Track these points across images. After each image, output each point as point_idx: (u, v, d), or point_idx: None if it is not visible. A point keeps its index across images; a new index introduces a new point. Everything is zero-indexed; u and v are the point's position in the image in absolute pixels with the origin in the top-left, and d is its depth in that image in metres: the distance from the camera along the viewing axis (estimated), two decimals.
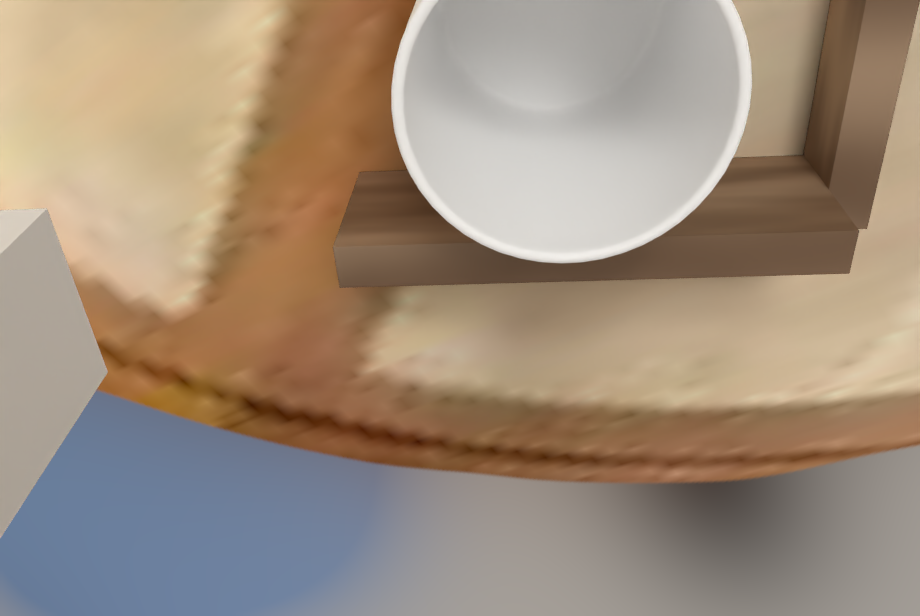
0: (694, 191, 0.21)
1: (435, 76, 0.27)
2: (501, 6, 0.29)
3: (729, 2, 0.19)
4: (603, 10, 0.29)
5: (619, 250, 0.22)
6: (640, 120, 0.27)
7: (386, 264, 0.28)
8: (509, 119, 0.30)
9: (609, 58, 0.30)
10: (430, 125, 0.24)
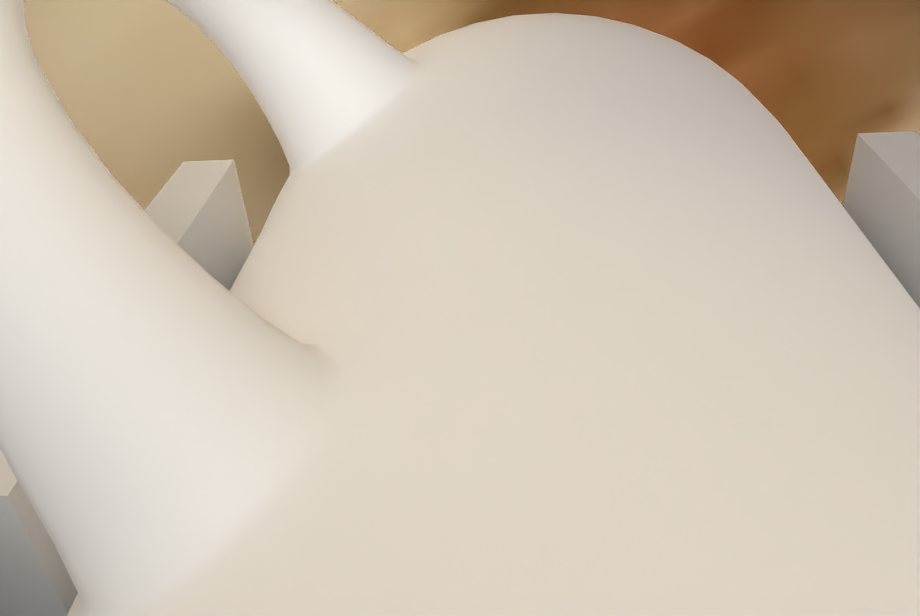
0: None
1: None
2: None
3: None
4: None
5: None
6: None
7: None
8: None
9: None
10: None
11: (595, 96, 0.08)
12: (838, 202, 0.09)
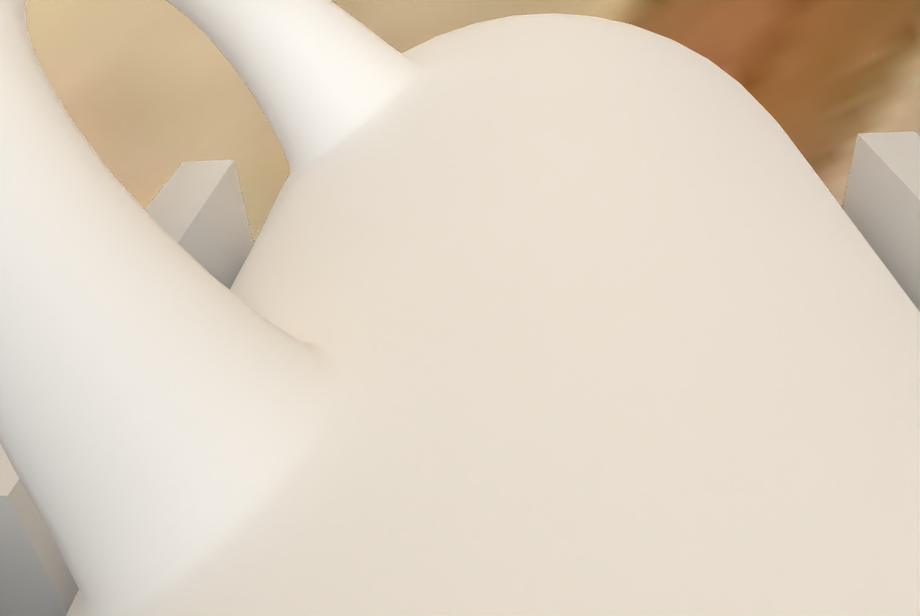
0: None
1: None
2: None
3: None
4: None
5: None
6: None
7: None
8: None
9: None
10: None
11: (593, 96, 0.08)
12: (835, 201, 0.09)
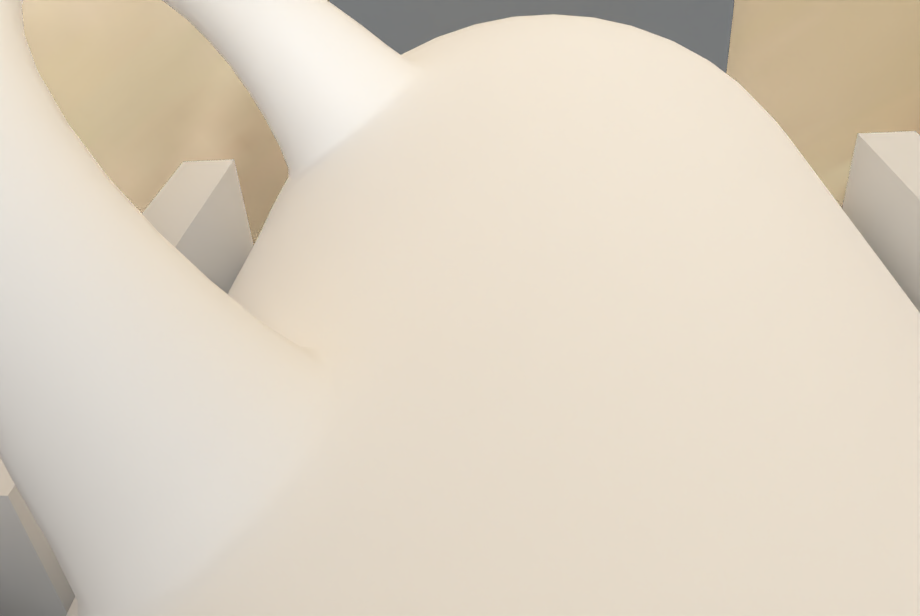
0: None
1: None
2: None
3: None
4: None
5: None
6: None
7: None
8: None
9: None
10: None
11: (594, 98, 0.08)
12: (837, 204, 0.09)
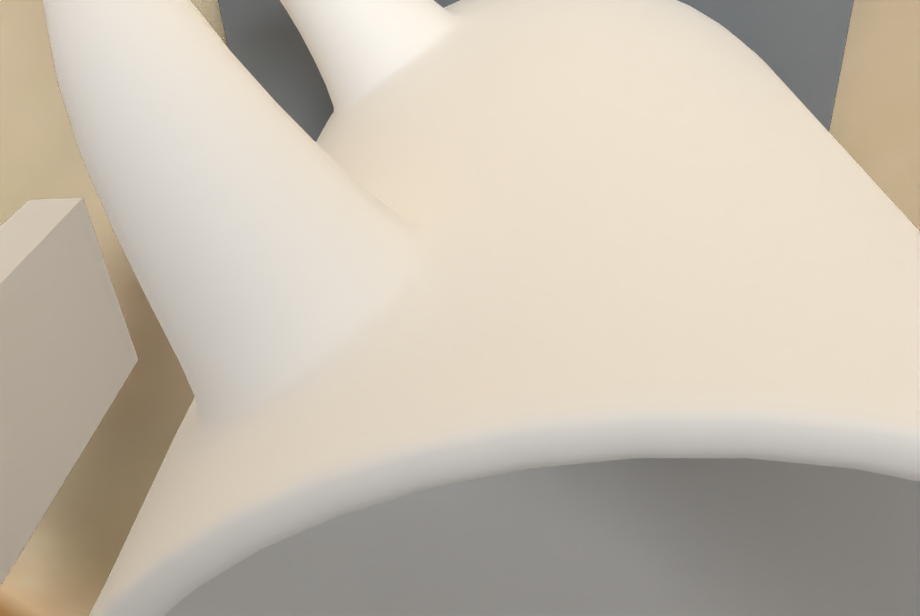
0: None
1: None
2: None
3: None
4: None
5: None
6: (728, 496, 0.13)
7: None
8: None
9: None
10: (262, 610, 0.10)
11: (624, 37, 0.09)
12: None
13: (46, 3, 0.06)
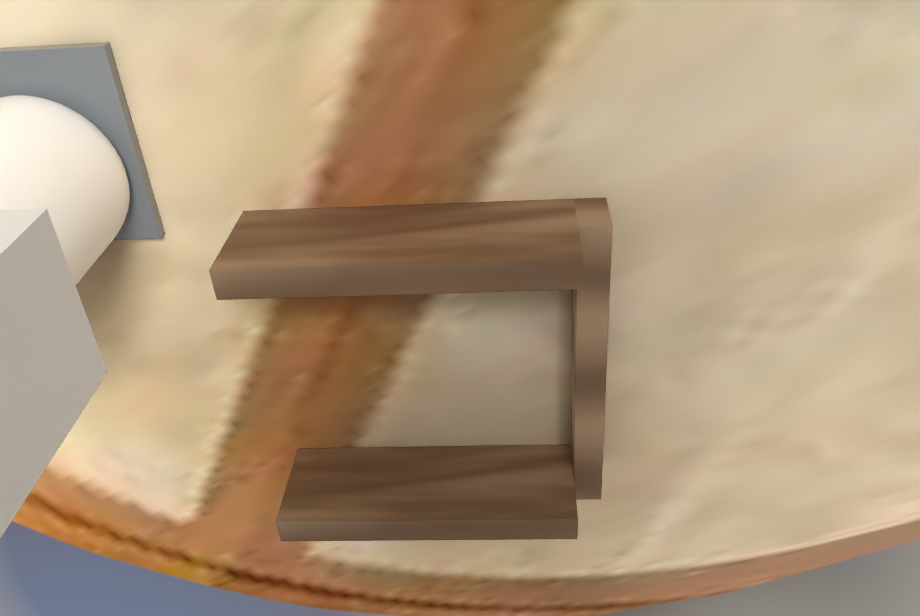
0: None
1: None
2: None
3: None
4: None
5: None
6: None
7: (307, 530, 0.48)
8: None
9: None
10: None
11: None
12: (57, 149, 0.37)
13: None
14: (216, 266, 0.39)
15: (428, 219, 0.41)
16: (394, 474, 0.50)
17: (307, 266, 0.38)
